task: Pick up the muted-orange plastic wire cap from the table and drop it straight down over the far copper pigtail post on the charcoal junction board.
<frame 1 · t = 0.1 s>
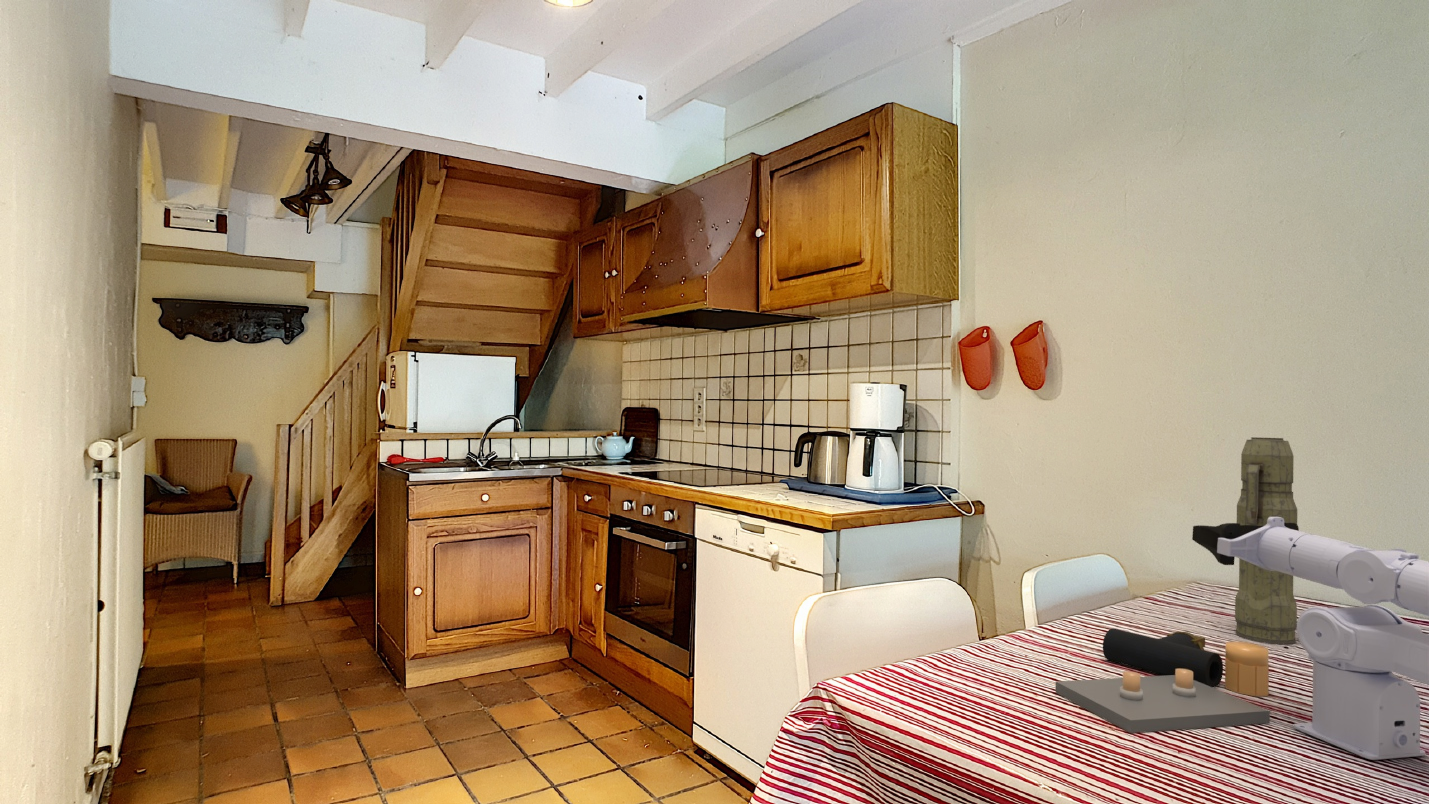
hand: (1217, 532, 113), 22 cm above the table, tool horizontal, fingers open, 7 cm apart
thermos: (1265, 638, 140), on the table
wire cap: (1246, 689, 111), on the table
junction board: (1157, 707, 103), on the table
pipe connector: (1171, 672, 120), on the table
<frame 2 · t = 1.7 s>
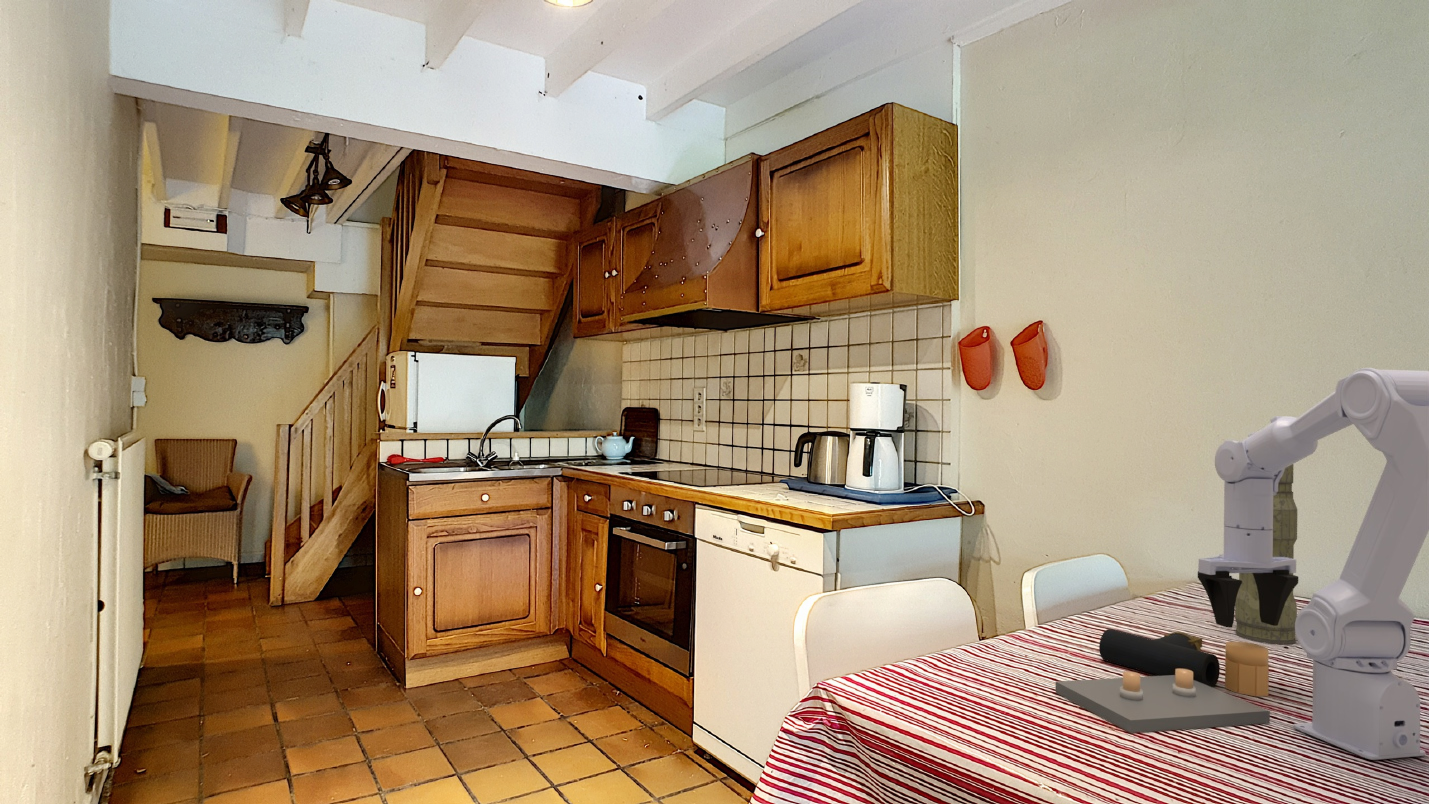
hand: (1246, 624, 111), 9 cm above the table, tool pointing down, fingers open, 7 cm apart
nothing on the table moved.
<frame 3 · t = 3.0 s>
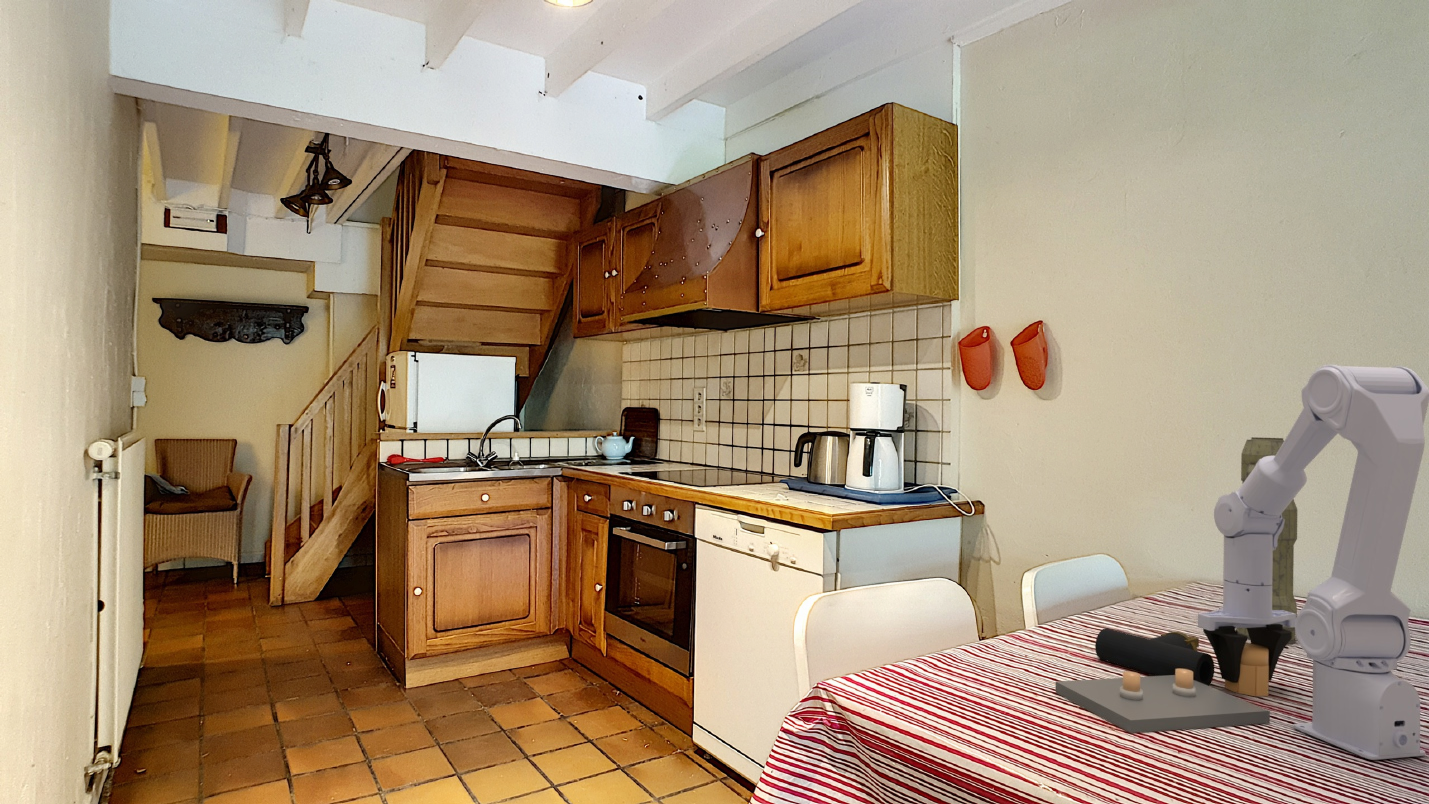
hand: (1246, 679, 111), 1 cm above the table, tool pointing down, fingers closed on wire cap, 5 cm apart
wire cap: (1246, 689, 111), on the table, touching gripper
when the fingers open (4 cm above the table, at t = 7.2 s): wire cap drops 2 cm, resting on junction board.
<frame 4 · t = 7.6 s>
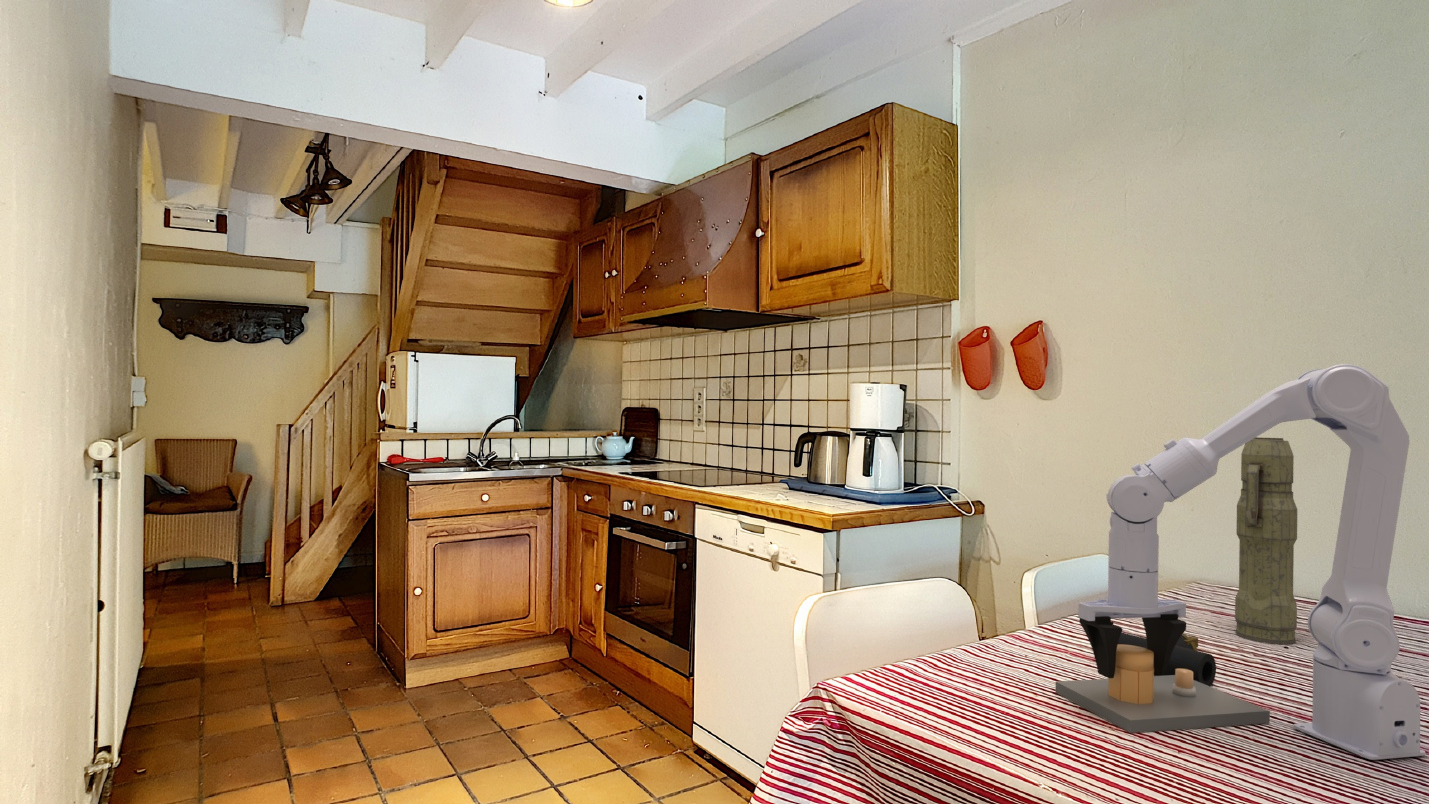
hand: (1131, 674, 103), 4 cm above the table, tool pointing down, fingers open, 7 cm apart
wire cap: (1130, 696, 103), point 1 cm above the table, touching junction board
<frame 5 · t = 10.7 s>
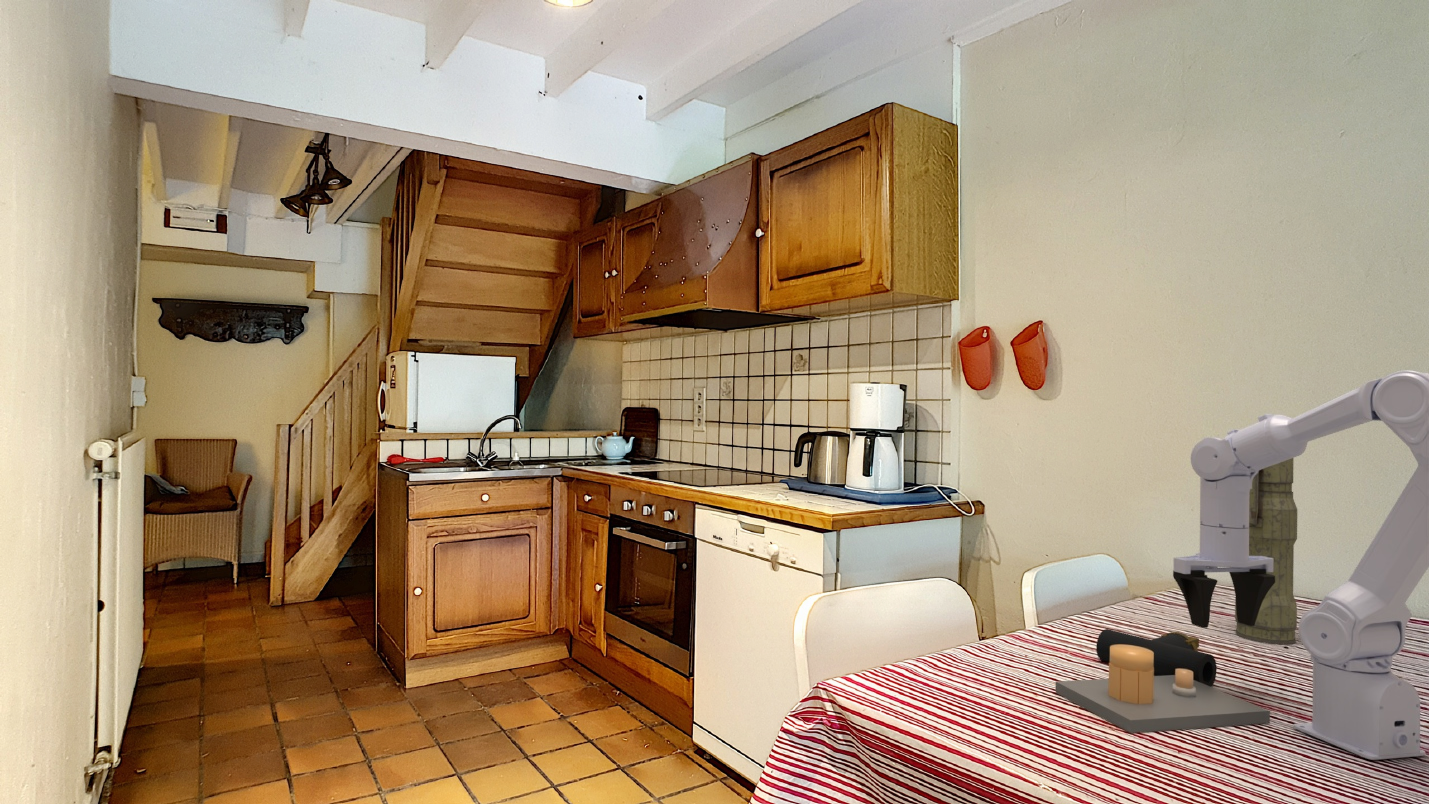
hand: (1223, 625, 109), 9 cm above the table, tool pointing down, fingers open, 7 cm apart
at the end: wire cap 0.1 cm from the target spot on the junction board, point 1.5 cm above the junction board's base; wire cap tilted 0°; the gripper is holding nothing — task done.
